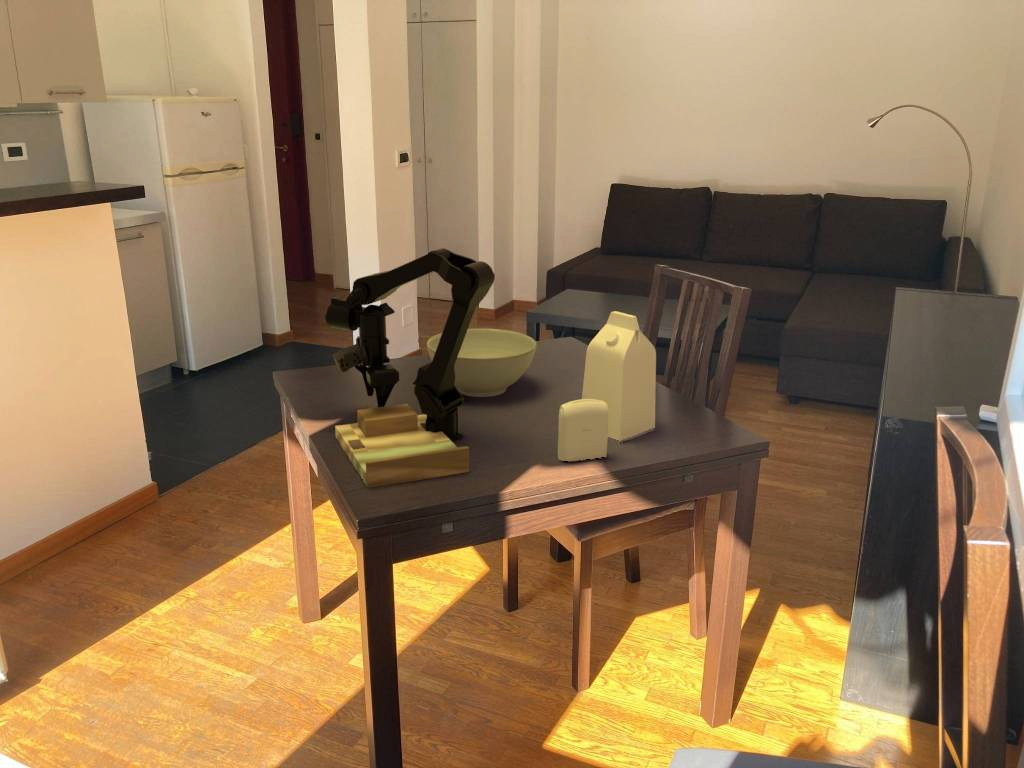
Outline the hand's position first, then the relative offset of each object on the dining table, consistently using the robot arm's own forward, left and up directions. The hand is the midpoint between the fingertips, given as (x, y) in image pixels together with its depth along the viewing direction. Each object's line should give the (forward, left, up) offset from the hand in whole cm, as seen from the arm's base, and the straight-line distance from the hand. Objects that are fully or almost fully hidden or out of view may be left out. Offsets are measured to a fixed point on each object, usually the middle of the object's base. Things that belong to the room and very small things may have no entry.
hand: (375, 402), depth 189 cm
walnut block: (+4, +9, -2) cm, 10 cm away
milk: (-34, +40, -5) cm, 53 cm away
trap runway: (+8, +16, -5) cm, 18 cm away
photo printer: (-16, +45, -5) cm, 48 cm away
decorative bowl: (-33, 0, -5) cm, 34 cm away
